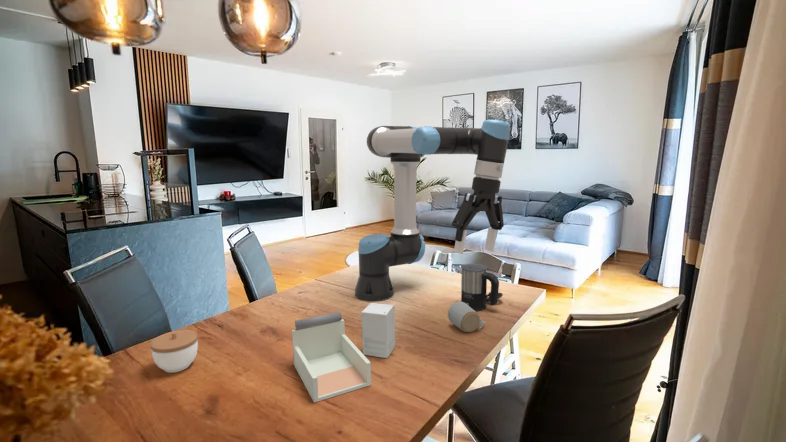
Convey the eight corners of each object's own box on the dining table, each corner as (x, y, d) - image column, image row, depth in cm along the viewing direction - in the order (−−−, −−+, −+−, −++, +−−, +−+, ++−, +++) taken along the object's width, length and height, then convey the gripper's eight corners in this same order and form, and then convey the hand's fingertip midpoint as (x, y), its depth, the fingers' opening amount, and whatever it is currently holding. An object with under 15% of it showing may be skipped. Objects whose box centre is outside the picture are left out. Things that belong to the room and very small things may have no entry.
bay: (293, 363, 103) (290, 320, 101) (343, 350, 110) (341, 309, 108) (314, 402, 87) (311, 351, 85) (371, 384, 93) (370, 337, 91)
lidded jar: (168, 382, 95) (163, 346, 93) (145, 370, 101) (141, 336, 99) (208, 362, 104) (205, 329, 102) (185, 352, 110) (182, 320, 108)
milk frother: (457, 309, 139) (458, 269, 136) (466, 294, 153) (467, 257, 151) (498, 315, 133) (500, 273, 131) (503, 299, 148) (505, 261, 145)
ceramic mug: (461, 336, 118) (462, 312, 117) (447, 325, 126) (447, 302, 124) (489, 330, 122) (491, 307, 121) (474, 320, 130) (475, 298, 128)
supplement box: (395, 346, 112) (395, 304, 110) (387, 359, 105) (386, 314, 103) (371, 342, 114) (371, 301, 112) (361, 354, 107) (360, 311, 105)
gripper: (468, 176, 98) (454, 257, 101) (524, 182, 113) (510, 252, 117) (446, 172, 103) (434, 249, 107) (502, 178, 119) (490, 246, 123)
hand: (474, 251), depth 112 cm, fingers open, 13 cm apart
